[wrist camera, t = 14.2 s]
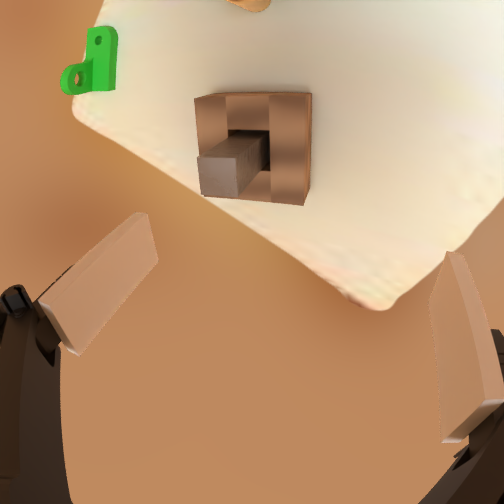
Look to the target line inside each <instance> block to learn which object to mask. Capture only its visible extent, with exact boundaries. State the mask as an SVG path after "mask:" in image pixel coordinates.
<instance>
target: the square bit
mask: <svg viewBox="0 0 504 504" xmlns="http://www.w3.org/2000/svg"><path fill="white" fill-rule="evenodd" d="M269 160H270V130H240V131H238V132H236V133H235V134H233V135H232V136H230V137H228V138H227V139H225V140H223V141H222V142H220V143H219V144H217V145H215V146H214V147H212V148H211V149H209V150H207V151H206V152H204V153H203V154H201V155H200V156H198V157H197V163H198V172H199V181H200V189H201V195H215V196H228V197H239V195H240V194H241V193H242V192H243V191H244V190H245V188H246V187H247V186H248V185H249V184H250V182H251V181H252V180H253V179H254V178H255V177H256V175H257V174H258V173H259V172H260V171H261V170H262V169H263V167H264V166H265V165H266V164H267V163H268V162H269Z"/></svg>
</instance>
